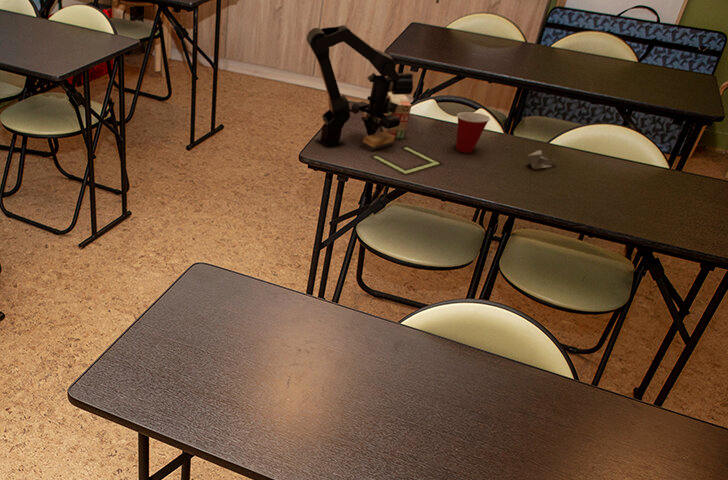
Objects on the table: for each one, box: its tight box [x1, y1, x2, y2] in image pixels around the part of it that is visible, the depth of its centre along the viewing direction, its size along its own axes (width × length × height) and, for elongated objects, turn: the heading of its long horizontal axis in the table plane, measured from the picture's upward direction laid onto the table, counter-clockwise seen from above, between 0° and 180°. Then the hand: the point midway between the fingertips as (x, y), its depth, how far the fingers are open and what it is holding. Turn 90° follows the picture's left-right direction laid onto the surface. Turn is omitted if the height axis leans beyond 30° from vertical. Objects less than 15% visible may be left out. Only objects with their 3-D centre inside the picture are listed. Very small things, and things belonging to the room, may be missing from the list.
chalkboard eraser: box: [362, 131, 395, 152], centre depth 241 cm, size 10×5×4 cm, turn 122°
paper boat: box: [527, 149, 558, 170], centre depth 228 cm, size 12×6×9 cm
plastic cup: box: [455, 111, 491, 154], centre depth 237 cm, size 11×11×12 cm
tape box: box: [373, 146, 440, 175], centre depth 233 cm, size 16×15×1 cm
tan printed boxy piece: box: [380, 91, 413, 140], centre depth 251 cm, size 21×6×12 cm, turn 179°
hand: (370, 138), depth 244 cm, fingers closed
